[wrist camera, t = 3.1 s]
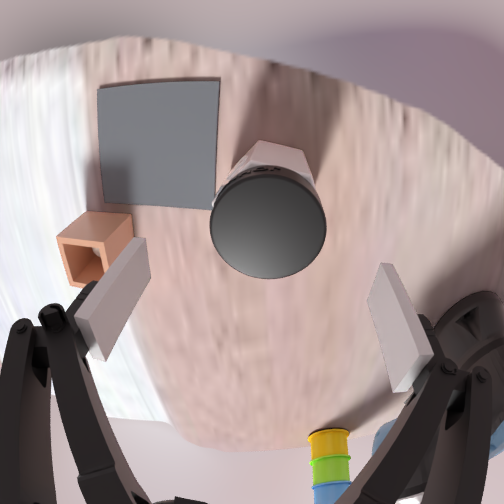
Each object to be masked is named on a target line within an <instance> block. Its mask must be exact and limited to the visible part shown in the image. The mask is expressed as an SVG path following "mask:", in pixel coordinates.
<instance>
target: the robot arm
mask: <svg viewBox="0 0 504 504" xmlns="http://www.w3.org/2000/svg"><path fill="white" fill-rule="evenodd" d="M150 279H151V273H150V267H149V260H148V252H147V244H146V238H139V237H133V239H132V240H131V241H130V242H129V243H128V245H127V246H126V247H125V248H124V250H123V251H122V252H121V253H120V254H119V256H118V257H117V258H116V260H115V261H114V262H113V263H112V265H111V266H110V267H109V268H108V270H107V271H106V272H105V274H104V275H103V276H102V278H101V279H100V280H99V281H94V280H93V281H91V282H90V283H88V284H87V285H86V286H85V287H84V288H83V289H82V291H81V292H80V294H79V295H78V296H77V297H76V299H75V300H74V301H73V303H72V304H71V305H70V307H69V308H68V309H67V311H66V312H65V311H64V308H63V306H62V305H60V304H57V303H53V304H49V305H47V306H45V307H44V308H42V309H41V311H40V312H39V314H38V319H39V321H40V323H41V325H42V326H33V324H32V322H31V320H29V319H28V318H23V319H19V320H18V321H16V322H15V323H14V324H13V325H12V327H11V329H10V333H9V337H8V341H7V345H6V349H5V354H4V358H3V363H2V368H1V374H0V504H57V501H56V491H55V484H54V476H53V466H52V455H51V433H50V399H51V378H52V381H53V386H54V391H55V395H56V399H57V403H58V407H59V411H60V415H61V419H62V423H63V426H64V429H65V433H66V436H67V439H68V442H69V446H70V449H71V451H72V454H73V457H74V460H75V463H76V465H77V468H78V471H79V476H78V477H77V479H78V484H79V487H80V489H81V492H82V494H83V496H84V499H85V501H86V503H87V504H152V503H151V501H150V500H149V498H148V496H147V495H146V493H145V492H144V491H143V489H142V488H141V486H140V485H139V484H138V482H137V480H136V479H135V477H134V475H133V473H132V471H131V469H130V467H129V465H128V463H127V461H126V459H125V457H124V455H123V453H122V451H121V448H120V446H119V444H118V442H117V440H116V437H115V436H114V433H113V431H112V428H111V426H110V424H109V421H108V418H107V416H106V413H105V411H104V408H103V406H102V403H101V400H100V398H99V395H98V392H97V389H96V386H95V383H94V380H93V377H92V374H91V371H90V368H89V364H88V361H87V359H86V357H85V356H86V354H87V352H88V351H89V352H90V354H91V356H92V358H94V359H97V360H100V361H104V362H106V361H107V359H108V357H109V355H110V353H111V351H112V349H113V347H114V345H115V343H116V341H117V339H118V337H119V335H120V333H121V331H122V330H123V328H124V326H125V324H126V322H127V320H128V318H129V316H130V315H131V313H132V311H133V309H134V307H135V306H136V304H137V302H138V300H139V298H140V297H141V295H142V293H143V291H144V289H145V288H146V286H147V284H148V283H149V281H150ZM367 302H368V305H369V309H370V312H371V315H372V318H373V322H374V325H375V328H376V332H377V335H378V339H379V342H380V346H381V349H382V353H383V356H384V360H385V364H386V368H387V372H388V376H389V380H390V384H391V388H392V392H393V393H396V392H407V390H408V389H409V388H410V387H411V385H413V389H414V392H413V393H412V394H411V395H410V397H409V398H408V399H407V400H406V401H405V403H404V404H406V405H405V406H404V408H403V410H402V411H401V413H400V415H399V416H398V418H396V419H394V420H392V421H390V422H388V423H385V424H384V425H382V426H381V427H380V428H379V430H378V431H377V433H376V436H375V439H374V442H373V448H372V457H371V459H370V460H369V461H368V463H367V464H366V465H365V467H364V468H363V469H362V471H361V472H360V473H359V475H358V476H357V477H356V478H355V480H354V481H353V482H352V483H351V484H350V486H349V487H348V488H347V489H346V490H345V492H344V493H343V494H342V495H341V496H340V497H339V499H338V500H337V501H336V502H335V503H334V504H395V503H396V504H481V501H482V496H483V491H484V486H485V480H486V474H487V468H488V460H489V459H491V458H493V457H494V456H496V455H498V454H499V453H501V452H502V451H504V304H503V303H502V301H501V300H500V298H499V297H498V296H497V295H496V294H495V293H493V292H489V291H483V292H478V293H475V294H472V295H470V296H468V297H466V298H464V299H463V300H461V301H460V302H458V303H457V304H456V305H454V306H453V307H452V308H451V309H450V310H449V311H448V312H447V313H446V314H445V315H444V316H443V317H442V318H441V319H440V321H439V322H438V323H437V325H436V327H435V329H434V331H433V328H432V326H431V323H430V321H429V320H428V319H427V318H426V317H425V316H424V315H423V314H417V313H416V311H415V309H414V307H413V304H412V302H411V300H410V298H409V296H408V294H407V292H406V290H405V288H404V286H403V284H402V282H401V280H400V278H399V276H398V274H397V272H396V270H395V268H394V266H393V264H388V263H380V266H379V269H378V272H377V275H376V277H375V280H374V283H373V286H372V288H371V291H370V294H369V296H368V299H367ZM153 504H207V503H205V502H200V501H195V500H190V499H184V498H180V497H176V496H175V499H174V500H166V501H160V502H156V503H153Z"/></svg>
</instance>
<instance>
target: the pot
mask: <svg viewBox="0 0 504 504" xmlns="http://www.w3.org/2000/svg"><path fill="white" fill-rule="evenodd" d="M133 237H134V232H133V224H132V216H131V214H123V213H109V212H94V211H86V212H85V213H83V214H82V215H81V216H80V217H78V218H77V219H76V220H75V221H74V222H72V223H71V224H70V225H69V226H68V227H67V228H65V229H64V230H63V231H62V232H61V233H60V234H58V235H57V236H56V239H57V243H58V246H59V250H60V254H61V257H62V261H63V264H64V268H65V271H66V274H67V277H68V280H69V284H70V286H74V287H79V288H84V287H85V286H86V285H87V284H88V283H90V282H91V281H93V280H94V281H99V280H100V279H101V278H102V276H103V275H104V274H105V272H106V271H107V270H108V268H109V267H110V266H111V265H112V263H113V262H114V261H115V260H116V258H117V257H118V256H119V254H120V253H121V252H122V251H123V250H124V248H125V247H126V246H127V245H128V243H129V242H130V241H131V240H132V239H133ZM92 247H94V248H99V251H100V256H101V257H98V256H97V255H96V254H95V253H94V252H93V249H92Z"/></svg>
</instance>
